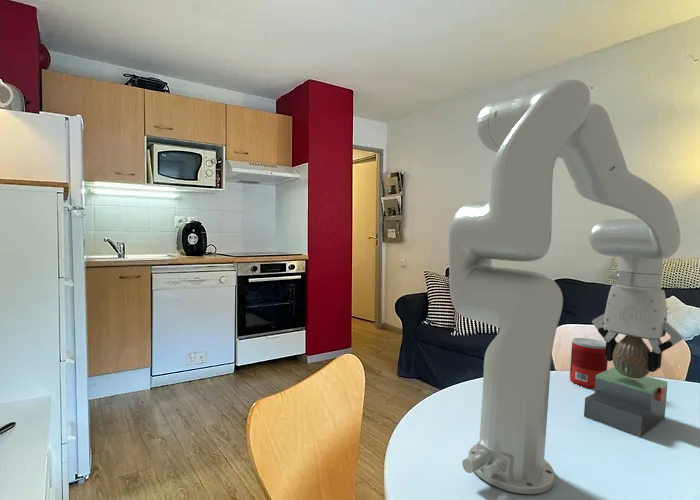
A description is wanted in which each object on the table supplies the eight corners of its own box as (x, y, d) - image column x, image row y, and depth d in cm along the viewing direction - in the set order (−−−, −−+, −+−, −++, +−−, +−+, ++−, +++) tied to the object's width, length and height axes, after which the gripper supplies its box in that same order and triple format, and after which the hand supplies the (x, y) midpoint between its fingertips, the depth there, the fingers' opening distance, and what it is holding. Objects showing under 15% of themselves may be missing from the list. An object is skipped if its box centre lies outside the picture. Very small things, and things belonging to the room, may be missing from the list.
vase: (611, 367, 89) (615, 328, 88) (650, 374, 84) (654, 334, 84) (610, 375, 83) (613, 333, 83) (651, 384, 79) (655, 340, 78)
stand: (645, 439, 74) (649, 397, 74) (583, 416, 83) (586, 378, 82) (669, 420, 82) (672, 383, 82) (611, 401, 91) (613, 367, 91)
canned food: (611, 391, 97) (614, 347, 97) (575, 387, 99) (578, 344, 98) (598, 380, 105) (601, 339, 104) (565, 377, 106) (568, 336, 106)
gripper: (585, 276, 87) (579, 356, 88) (686, 288, 74) (677, 382, 74) (600, 275, 92) (594, 351, 93) (697, 286, 78) (689, 375, 79)
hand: (631, 364), depth 84 cm, fingers closed on vase, 6 cm apart
